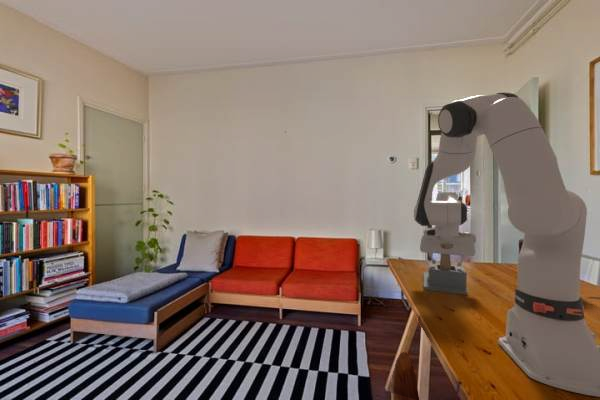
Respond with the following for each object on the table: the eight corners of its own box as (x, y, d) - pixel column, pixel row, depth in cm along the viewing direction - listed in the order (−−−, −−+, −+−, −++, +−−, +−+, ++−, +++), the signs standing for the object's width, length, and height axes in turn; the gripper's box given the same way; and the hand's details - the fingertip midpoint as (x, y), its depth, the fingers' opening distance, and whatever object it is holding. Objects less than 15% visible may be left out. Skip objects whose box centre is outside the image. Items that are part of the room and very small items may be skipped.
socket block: (467, 295, 105) (467, 275, 104) (423, 289, 111) (423, 271, 110) (460, 278, 125) (460, 262, 125) (423, 274, 131) (423, 259, 131)
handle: (452, 282, 112) (452, 245, 112) (435, 279, 117) (435, 243, 116) (455, 279, 116) (455, 243, 116) (438, 276, 120) (438, 241, 120)
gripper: (474, 231, 115) (474, 265, 115) (420, 229, 123) (419, 260, 123) (477, 233, 109) (476, 269, 109) (420, 231, 117) (419, 263, 117)
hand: (446, 264), depth 116 cm, fingers open, 8 cm apart
